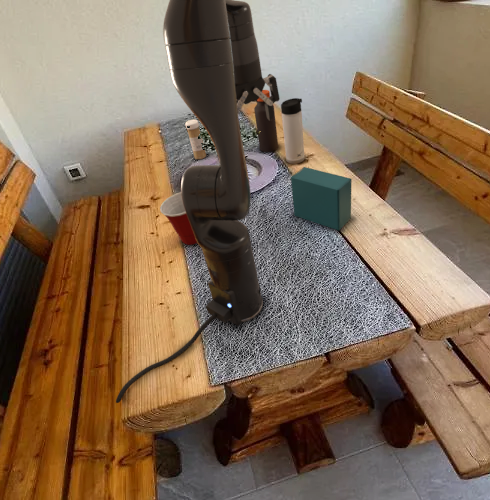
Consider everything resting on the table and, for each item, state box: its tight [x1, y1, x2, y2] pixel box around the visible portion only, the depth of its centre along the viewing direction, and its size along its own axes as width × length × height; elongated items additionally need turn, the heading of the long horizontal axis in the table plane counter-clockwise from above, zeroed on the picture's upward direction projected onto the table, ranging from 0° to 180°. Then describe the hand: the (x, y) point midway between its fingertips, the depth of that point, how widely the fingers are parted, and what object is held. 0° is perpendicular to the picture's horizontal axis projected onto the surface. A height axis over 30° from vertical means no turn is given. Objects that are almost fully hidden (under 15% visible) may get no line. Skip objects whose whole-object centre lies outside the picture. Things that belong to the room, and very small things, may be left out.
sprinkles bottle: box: [184, 119, 207, 160], centre depth 139 cm, size 5×5×13 cm
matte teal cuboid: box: [290, 166, 352, 231], centre depth 101 cm, size 6×14×12 cm, turn 50°
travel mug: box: [280, 97, 306, 165], centre depth 125 cm, size 6×7×20 cm
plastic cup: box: [159, 191, 198, 246], centre depth 101 cm, size 11×11×12 cm
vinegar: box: [253, 89, 279, 153], centre depth 135 cm, size 7×7×20 cm
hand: (254, 124), depth 98 cm, fingers open, 8 cm apart
